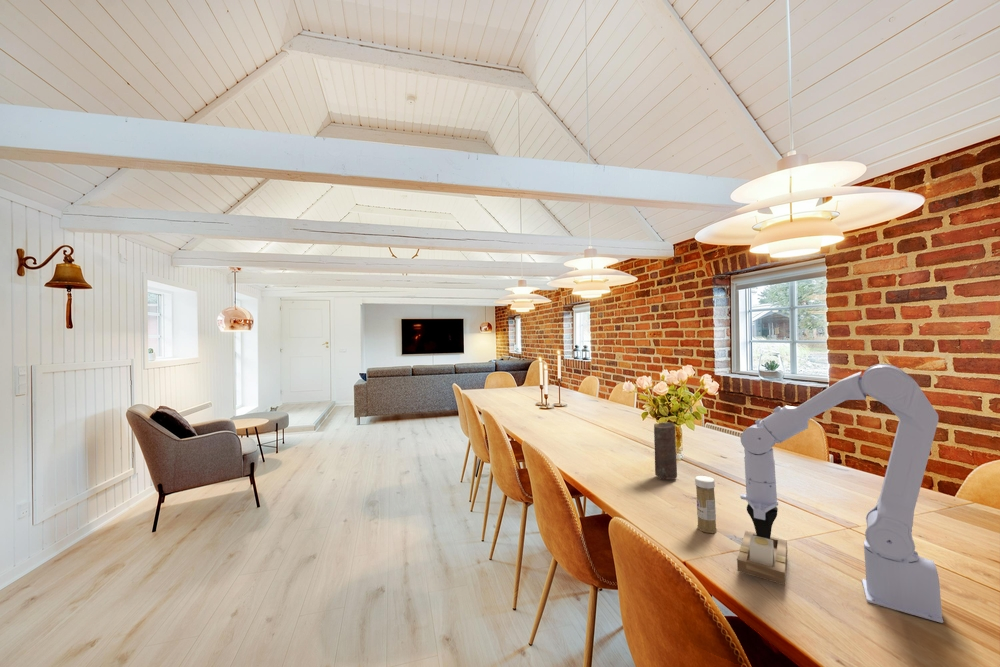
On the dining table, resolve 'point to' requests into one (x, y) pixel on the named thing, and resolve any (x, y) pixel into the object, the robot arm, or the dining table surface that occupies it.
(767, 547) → the block
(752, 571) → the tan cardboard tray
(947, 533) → the dining table surface
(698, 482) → the sprinkles bottle
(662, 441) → the candle
